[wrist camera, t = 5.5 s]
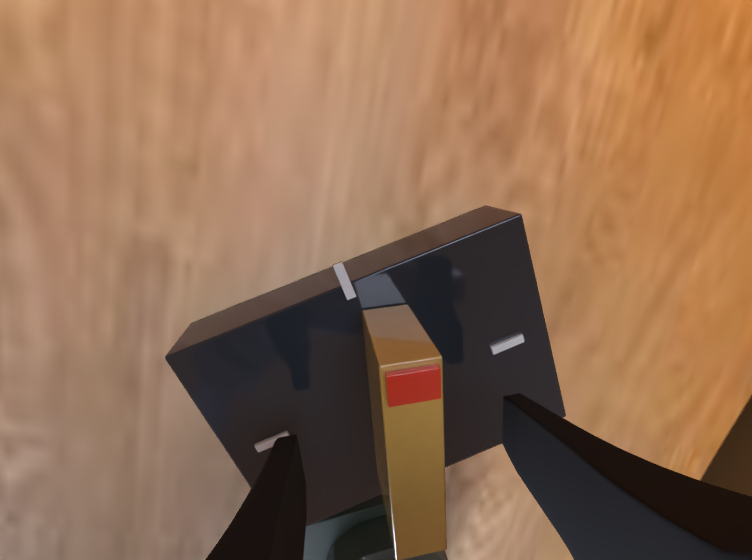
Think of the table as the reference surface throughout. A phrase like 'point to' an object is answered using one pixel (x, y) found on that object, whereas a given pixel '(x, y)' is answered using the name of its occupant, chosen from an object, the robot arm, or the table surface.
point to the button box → (355, 536)
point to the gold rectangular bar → (407, 428)
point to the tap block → (348, 357)
